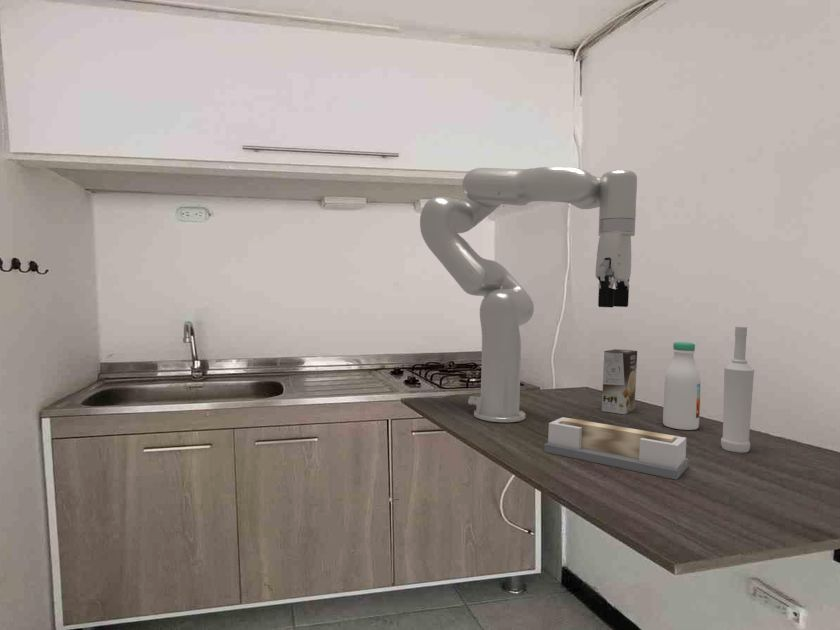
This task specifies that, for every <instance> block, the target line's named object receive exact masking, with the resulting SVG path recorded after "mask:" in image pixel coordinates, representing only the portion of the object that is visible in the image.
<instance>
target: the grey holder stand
mask: <svg viewBox="0 0 840 630" xmlns="http://www.w3.org/2000/svg"><path fill="white" fill-rule="evenodd" d="M567 418H568V417H564V416H563V417H560V418H558V419H557V418H556V419H555V420H553V421H551V422H548V435H547V436H548V437H547V442H545V443H544V444H543V445H544V446H543V452H544V453H547V454H553V455H558V456H561V457H562V456H563V457H567V458H572V459H577V460H581V461H585V462H591V463H595V464H601V465H605V466H609V467H615V468H620V469H624V470H629V471H633V472H639V473H644V474H648V475H653V476H657V477H661V478H666V479H672V480H676V481H677V480H678V479H679V478H680V477H681V475H683V473H684V472H686V470H687V469H688V468H689V461H690V460H689V458H687V457H686V456H687V437H684V436H683V437H682V436H679V435H674V436H675V441H674V442H672V443H669V442H663V441H657V440H651V439H646V438H641V439H640V448H639V458H634V457H629V456H623V455H618V454H613V453H608V452H603V451H598V450H593V449H588V448H583V447H581V437H582V427H577V426H571V425H565V424H562V420H565V419H567Z"/></svg>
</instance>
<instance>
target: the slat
mask: <svg viewBox="0 0 840 630" xmlns="http://www.w3.org/2000/svg"><path fill="white" fill-rule="evenodd" d="M566 418H567V419H565V420H562V424H565V425H571V426H577V427H582V437H581V447H583V448H588V449H593V450H598V451H603V452H608V453H613V454H618V455H623V456H629V457H634V458H639V448H640V439H641V438H646V439H651V440H657V441H663V442H669V443H672V442H674V441H675V436H676V435H673V434H666V433H660V432H653V431H650V430H649V431H648V430H642V429H636V428H630V427H624V426H618V425H612V424H607V423H599V422H594V421H589V420H588V421H587V420H583V419H578V418H569V417H566Z"/></svg>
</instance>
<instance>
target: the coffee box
mask: <svg viewBox="0 0 840 630" xmlns="http://www.w3.org/2000/svg"><path fill="white" fill-rule="evenodd" d="M603 352H604V355H603V370H602V371H603V373H602V374H603V377H602V396H601V397H602V399H601V401H602V402H601V412H606V413H611V414H619V415H626V414H629V413H630V412H632V411H634V410H635V409H636V385H637V368H638V366H637V365H638V350H633V349H615V348H614V349H609V350H604V351H603Z"/></svg>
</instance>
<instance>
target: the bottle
mask: <svg viewBox="0 0 840 630" xmlns="http://www.w3.org/2000/svg"><path fill="white" fill-rule="evenodd" d="M734 328H735V329H734V350H733V351H734V352H733V353H734V354H733V359H731V362H730V363H728V364H727V365H726V366H724V369H723V370H724V371H723V373H724V374H723V375H724V377H723V378H724V380H723V408H722V409H723V410H722V411H723V416H722V418H723V419H722V437H721V438H720V445H721V448H722V449H723V450H725V451H728V452H733V453H740V454H741V453H742V454H744V453H748V452H749V451H750V449H751V442H750V431H751V429H750V428H751V419H752V418H751V415H752V406H753V405H752V403H753V389H754V388H753V387H754V375H755V369H753V367H751V365H749V363H748V361H747V360H746V351H747V334H748V327H746V326H734Z"/></svg>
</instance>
